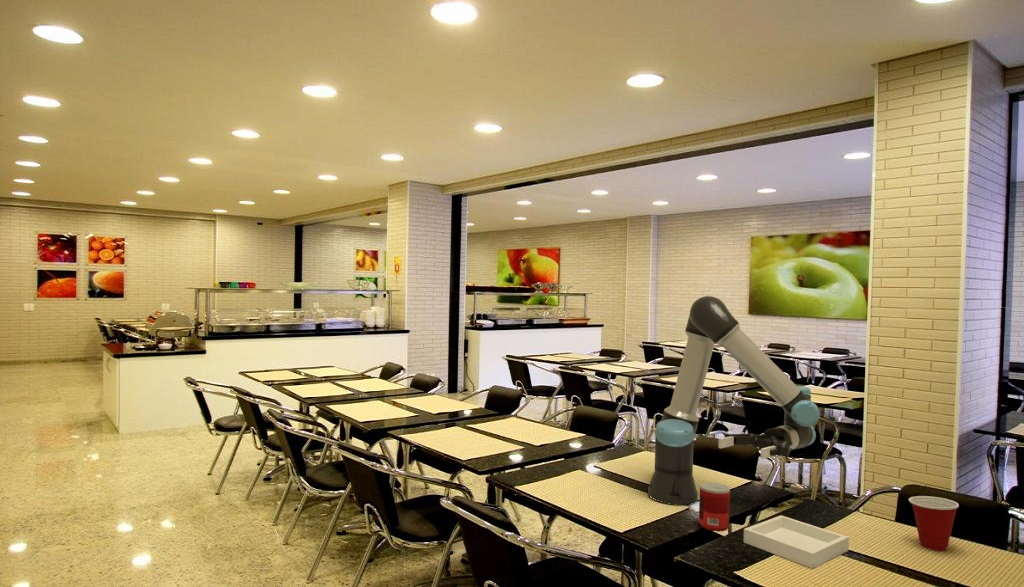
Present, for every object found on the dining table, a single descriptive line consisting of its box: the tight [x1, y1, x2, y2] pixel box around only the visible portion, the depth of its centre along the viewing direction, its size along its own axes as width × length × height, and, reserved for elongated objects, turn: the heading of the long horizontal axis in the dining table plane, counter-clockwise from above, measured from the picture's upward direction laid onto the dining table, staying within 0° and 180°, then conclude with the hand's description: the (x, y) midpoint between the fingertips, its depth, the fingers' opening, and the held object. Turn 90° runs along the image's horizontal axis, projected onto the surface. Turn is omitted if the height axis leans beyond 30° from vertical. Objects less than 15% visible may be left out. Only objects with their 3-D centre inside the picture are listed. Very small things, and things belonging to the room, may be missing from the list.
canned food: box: [698, 482, 731, 532], centre depth 169 cm, size 8×8×11 cm
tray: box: [743, 515, 850, 569], centre depth 156 cm, size 18×18×4 cm
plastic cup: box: [908, 495, 960, 552], centre depth 159 cm, size 11×11×12 cm
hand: (740, 448), depth 176 cm, fingers open, 13 cm apart
